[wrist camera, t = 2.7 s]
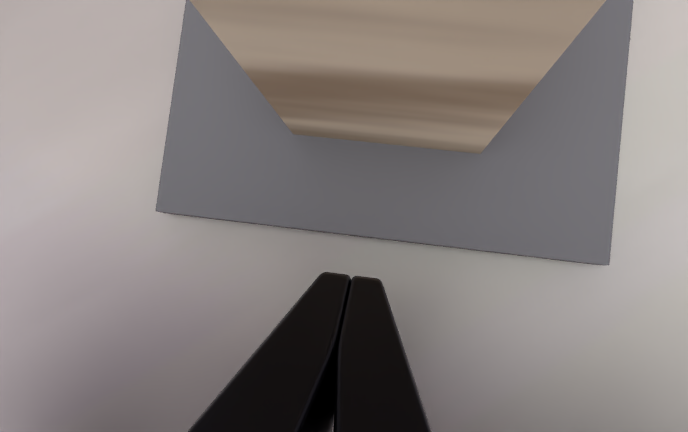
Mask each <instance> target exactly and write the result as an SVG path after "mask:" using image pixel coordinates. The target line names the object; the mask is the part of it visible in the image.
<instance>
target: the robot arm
mask: <svg viewBox="0 0 688 432" xmlns="http://www.w3.org/2000/svg"><path fill="white" fill-rule="evenodd" d="M333 422H334V432H432V431H431V428H430V425H429V422H428V419H427V416H426V413H425V410H424V407H423V404H422V401H421V398H420V395H419V392H418V389H417V386H416V383H415V380H414V377H413V374H412V371H411V368H410V365H409V362H408V359H407V356H406V353H405V350H404V347H403V344H402V341H401V338H400V335H399V332H398V329H397V326H396V323H395V320H394V317H393V314H392V311H391V308H390V305H389V302H388V299H387V296H386V293H385V290H384V287H383V284H382V282H381V281H380V280H379V279H376V278H369V277H361V276H355V277H353V278H352V279H351V278H350V277H349V276H348V275H345V274H337V273H329V272H324V273H322V274H321V275H319V277H318V278H317V279H316V280H315V281H314V282H313V284H312V285H311V286H310V287H309V288H308V289H307V291H306V292H305V293H304V294H303V295H302V297H301V298H300V299H299V300H298V301H297V303H296V304H295V305H294V306H293V307H292V308H291V310H290V311H289V312H288V313H287V314H286V316H285V317H284V318H283V319H282V320H281V321H280V323H279V324H278V325H277V326H276V327H275V329H274V330H273V331H272V332H271V333H270V335H269V336H268V337H267V338H266V339H265V340H264V342H263V343H262V344H261V345H260V346H259V348H258V349H257V350H256V351H255V352H254V354H253V355H252V356H251V357H250V358H249V359H248V361H247V362H246V363H245V364H244V365H243V367H242V368H241V369H240V370H239V371H238V372H237V374H236V375H235V376H234V377H233V378H232V380H231V381H230V382H229V383H228V384H227V386H226V387H225V388H224V389H223V390H222V391H221V393H220V394H219V395H218V396H217V397H216V399H215V400H214V401H213V402H212V403H211V404H210V406H209V407H208V408H207V409H206V410H205V412H204V413H203V414H202V415H201V416H200V418H199V419H198V420H197V421H196V422H195V423H194V425H193V426H192V427H191V428H190V429H189V431H188V432H331V431H332V427H333Z"/></svg>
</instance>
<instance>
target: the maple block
mask: <svg viewBox="0 0 688 432" xmlns="http://www.w3.org/2000/svg"><path fill="white" fill-rule="evenodd" d="M190 1H191V3H192V4H193V5H194V7H195V8H196V9H197V10H198V12H199V13H200V14H201V16H202V17H203V18H204V19H205V21H206V22H207V23H208V25H209V26H210V27H211V29H212V30H213V31H214V32H215V34H216V35H217V36H218V38H219V39H220V40H221V41H222V43H223V44H224V45H225V47H226V48H227V49H228V50H229V52H230V53H231V54H232V56H233V57H234V58H235V60H236V61H237V62H238V63H239V65H240V66H241V67H242V69H243V70H244V71H245V72H246V74H247V75H248V76H249V78H250V79H251V80H252V82H253V83H254V84H255V85H256V87H257V88H258V89H259V91H260V92H261V93H262V94H263V96H264V97H265V98H266V100H267V101H268V102H269V104H270V105H271V106H272V107H273V109H274V110H275V111H276V113H277V114H278V115H279V116H280V118H281V119H282V120H283V122H284V123H285V124H286V126H287V127H288V128H289V129H290V131H291V132H292V133H293V134H296V135H306V136H315V137H325V138H334V139H344V140H353V141H363V142H372V143H382V144H391V145H401V146H411V147H420V148H430V149H439V150H449V151H458V152H468V153H477V154H481V152H482V151H483V150H484V149H485V147H486V146H487V145H488V144H489V143H490V141H491V140H492V139H493V138H494V136H495V135H496V134H497V133H498V132H499V130H500V129H501V128H502V127H503V126H504V124H505V123H506V122H507V121H508V119H509V118H510V117H511V116H512V115H513V113H514V112H515V111H516V110H517V108H518V107H519V106H520V105H521V104H522V102H523V101H524V100H525V99H526V97H527V96H528V95H529V94H530V93H531V91H532V90H533V89H534V88H535V86H536V85H537V84H538V83H539V82H540V80H541V79H542V78H543V77H544V76H545V74H546V73H547V72H548V71H549V69H550V68H551V67H552V66H553V65H554V63H555V62H556V61H557V60H558V58H559V57H560V56H561V55H562V54H563V52H564V51H565V50H566V49H567V47H568V46H569V45H570V44H571V43H572V41H573V40H574V39H575V38H576V36H577V35H578V34H579V33H580V32H581V30H582V29H583V28H584V27H585V26H586V24H587V23H588V22H589V21H590V19H591V18H592V17H593V16H594V15H595V13H596V12H597V11H598V10H599V8H600V7H601V6H602V5H603V4H604V2H605V1H606V0H190Z"/></svg>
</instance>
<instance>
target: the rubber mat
mask: <svg viewBox="0 0 688 432" xmlns="http://www.w3.org/2000/svg"><path fill="white" fill-rule="evenodd" d="M632 9H633V0H606V1H605V2H604V4H603V5H602V6H601V7H600V8H599V10H598V11H597V12H596V13H595V15H594V16H593V17H592V18H591V19H590V21H589V22H588V23H587V24H586V26H585V27H584V28H583V29H582V30H581V32H580V33H579V34H578V35H577V36H576V38H575V39H574V40H573V41H572V43H571V44H570V45H569V46H568V47H567V49H566V50H565V51H564V52H563V54H562V55H561V56H560V57H559V58H558V60H557V61H556V62H555V63H554V65H553V66H552V67H551V68H550V69H549V71H548V72H547V73H546V74H545V76H544V77H543V78H542V79H541V80H540V82H539V83H538V84H537V85H536V86H535V88H534V89H533V90H532V91H531V93H530V94H529V95H528V96H527V97H526V99H525V100H524V101H523V102H522V104H521V105H520V106H519V107H518V108H517V110H516V111H515V112H514V113H513V115H512V116H511V117H510V118H509V119H508V121H507V122H506V123H505V124H504V126H503V127H502V128H501V129H500V130H499V132H498V133H497V134H496V135H495V136H494V138H493V139H492V140H491V141H490V143H489V144H488V145H487V146H486V147H485V149H484V150H483V151H482V152H481V154H477V153H468V152H458V151H449V150H439V149H430V148H420V147H411V146H401V145H391V144H382V143H372V142H363V141H353V140H344V139H334V138H325V137H315V136H306V135H296V134H293V133H292V132H291V131H290V129H289V128H288V127H287V126H286V124H285V123H284V122H283V120H282V119H281V118H280V116H279V115H278V114H277V113H276V111H275V110H274V109H273V107H272V106H271V105H270V104H269V102H268V101H267V100H266V98H265V97H264V96H263V94H262V93H261V92H260V91H259V89H258V88H257V87H256V85H255V84H254V83H253V82H252V80H251V79H250V78H249V76H248V75H247V74H246V72H245V71H244V70H243V69H242V67H241V66H240V65H239V63H238V62H237V61H236V60H235V58H234V57H233V56H232V54H231V53H230V52H229V50H228V49H227V48H226V47H225V45H224V44H223V43H222V41H221V40H220V39H219V38H218V36H217V35H216V34H215V32H214V31H213V30H212V29H211V27H210V26H209V25H208V23H207V22H206V21H205V19H204V18H203V17H202V16H201V14H200V13H199V12H198V10H197V9H196V8H195V7H194V5H193V4H192V3H191V1H190V0H186V5H185V11H184V18H183V25H182V32H181V39H180V46H179V53H178V60H177V67H176V73H175V80H174V87H173V94H172V101H171V108H170V115H169V122H168V129H167V135H166V142H165V149H164V156H163V163H162V170H161V177H160V184H159V190H158V197H157V204H156V211H158V212H162V213H169V214H178V215H186V216H194V217H203V218H211V219H219V220H228V221H236V222H245V223H253V224H261V225H270V226H278V227H286V228H295V229H303V230H311V231H320V232H328V233H337V234H345V235H353V236H362V237H370V238H378V239H387V240H395V241H403V242H412V243H420V244H429V245H437V246H445V247H454V248H462V249H470V250H479V251H487V252H495V253H504V254H512V255H520V256H529V257H537V258H546V259H554V260H562V261H571V262H579V263H587V264H596V265H609V261H610V250H611V239H612V228H613V217H614V206H615V195H616V185H617V174H618V163H619V152H620V141H621V130H622V119H623V108H624V97H625V86H626V75H627V64H628V53H629V42H630V31H631V20H632Z"/></svg>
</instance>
